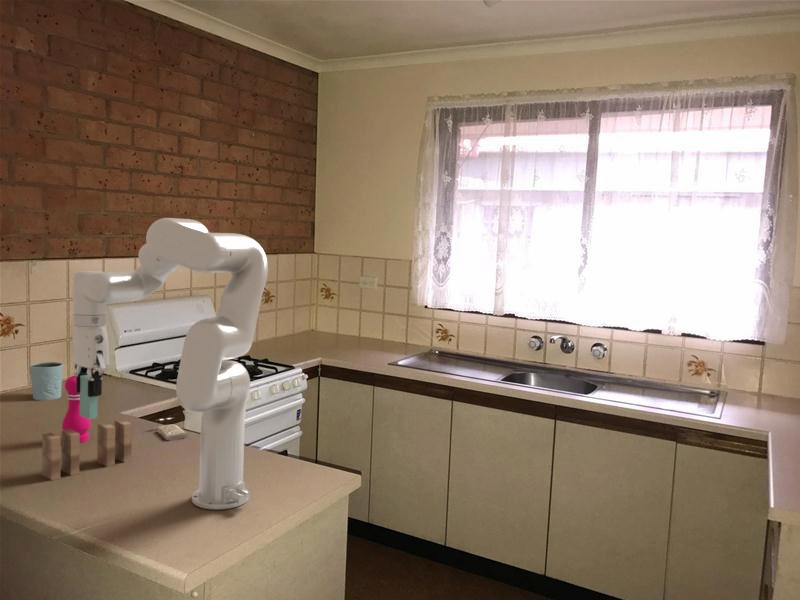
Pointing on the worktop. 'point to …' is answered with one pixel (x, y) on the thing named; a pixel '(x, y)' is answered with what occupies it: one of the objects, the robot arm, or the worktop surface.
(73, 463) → the domino
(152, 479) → the worktop surface
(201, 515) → the worktop surface
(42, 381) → the light blue cup
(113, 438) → the domino
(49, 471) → the domino
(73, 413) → the pepper mill
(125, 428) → the domino
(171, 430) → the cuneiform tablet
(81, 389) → the domino
